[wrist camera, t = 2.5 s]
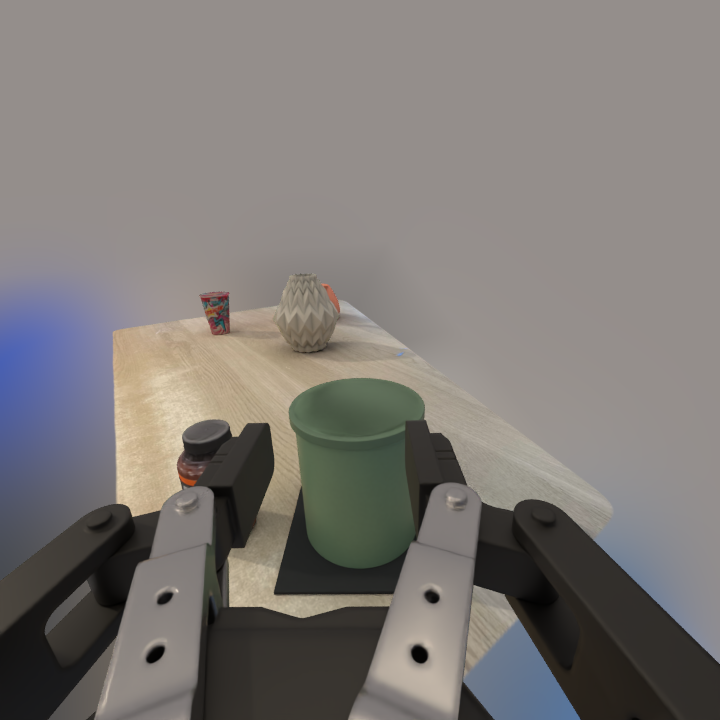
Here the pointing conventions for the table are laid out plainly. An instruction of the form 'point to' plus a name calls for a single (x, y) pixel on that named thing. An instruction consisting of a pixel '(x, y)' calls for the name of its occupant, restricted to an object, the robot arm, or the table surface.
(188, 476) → the supplement bottle
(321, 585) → the runner
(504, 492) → the table surface
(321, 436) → the bucket
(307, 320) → the vase
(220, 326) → the cup
